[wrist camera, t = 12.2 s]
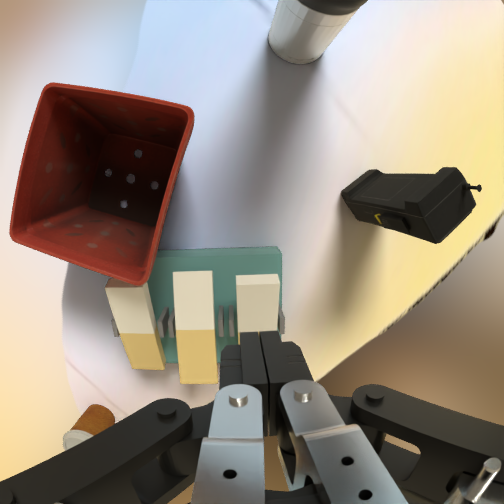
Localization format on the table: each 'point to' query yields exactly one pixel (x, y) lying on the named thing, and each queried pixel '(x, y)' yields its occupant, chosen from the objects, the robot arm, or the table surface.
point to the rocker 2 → (195, 327)
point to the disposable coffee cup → (88, 425)
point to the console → (224, 285)
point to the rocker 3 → (257, 302)
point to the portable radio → (412, 201)
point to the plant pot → (99, 178)
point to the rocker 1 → (136, 324)
